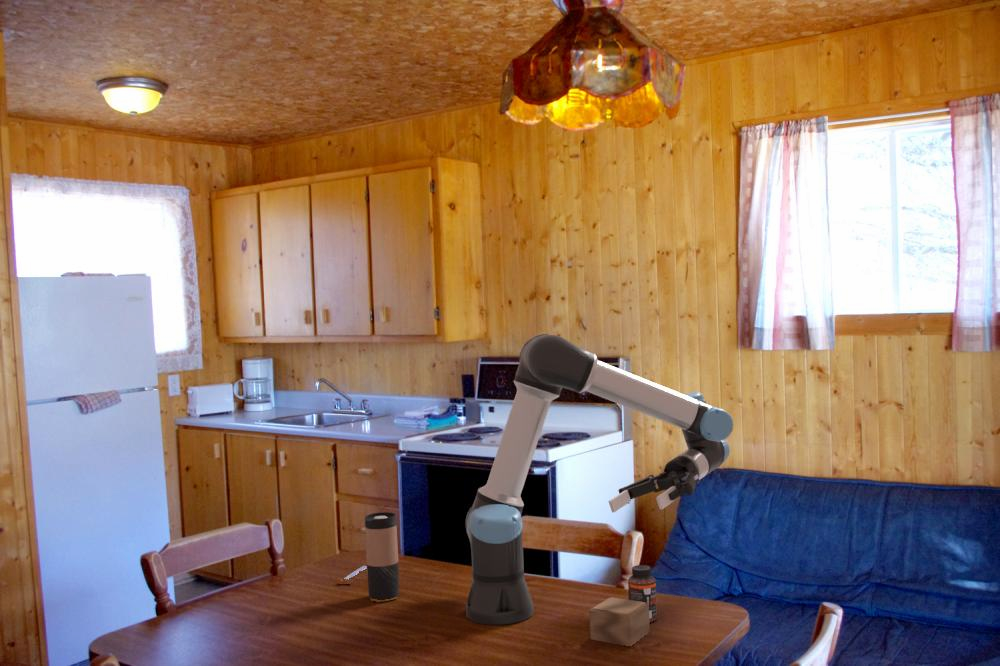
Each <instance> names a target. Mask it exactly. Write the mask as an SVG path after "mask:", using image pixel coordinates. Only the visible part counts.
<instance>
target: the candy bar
mask: <svg viewBox="0 0 1000 666" xmlns="http://www.w3.org/2000/svg"><path fill="white" fill-rule="evenodd" d="M365 569H367V566H365V565H362V566H360V567H359V568H357V569H356V570H354V571H353V572H351V573H349V574H347V576H345V577H344V579H346V580H347V579H348V580H349V578H351V577H353V576H355V575H357V574H358V573H359V571H363V570H365ZM338 580H341V581H343V580H342V579H340V578H339V579H338Z"/></svg>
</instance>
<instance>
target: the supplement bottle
mask: <svg viewBox="0 0 1000 666" xmlns="http://www.w3.org/2000/svg"><path fill="white" fill-rule="evenodd" d="M651 570H652V569H651V566H649V565H645V564H644V565H643V564H638V565H634V566H632V567H631V574H632V575H631V576H629V577H628V579H627V591H628V592H627V593H628V595H627V596H628V600H633V601H640V602H645V603H649V622H651V623H654V622H655V621H656V620H657V619H658V608H657V606H658V605H657V603H658V602H657V584H656V583H657V582H656V578H655V577H654V576H652V574H651V573H652V571H651ZM653 621H654V622H653Z"/></svg>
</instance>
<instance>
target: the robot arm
mask: <svg viewBox="0 0 1000 666" xmlns="http://www.w3.org/2000/svg"><path fill="white" fill-rule="evenodd" d="M518 361H519V363H518V366H517V369H516V372H515V376H514V379H513V383H514V385H515V387H516V394H515V397H514V399H513V403H512V405H511V409H510V412H509V414H508V418H507V421H506V424H505V426H504V430H503V433H502V435H501V439H500V442H499V446H498V449H497V452H496V454H495V457H494V460H493V463H492V466H491V470H490V472H489V476H488V480H487V482H486V484H485V485H483V486H482V487H481V486H480V487H479V488H478V489H477V491H476V495H475V498H474V501H473V503H472V506H471V507H470V508H469V510H468V512H467V514H466V518H465V530H466V534H467V536H468V539H469V543H470V552H471V554H470V555H471V556H470V557H471V571H472V574H471V575H472V581H471V585H470V589H469V593H468V596H467V600H466V605H465V611H466V612H465V613H466V615H465V616H466V618H467V619H469V621H472V622H474V623H477V624H481V625H489V626H490V625H494V626H496V625H497V626H498V625H509V624H515V623H519V622H523V621H525V620H527V619H529V618H531V617H533V615H534V612H535V610H534V601H533V599H532V596H531V594H530V590H529V587H528V585H527V582H526V579H525V570H524V569H525V568H524V567H525V566H524V546H523V545H524V544H523V526H524V525H523V524H524V523H523V520H522V513H523V509H524V506H525V504H524V501H523V500H522V497H521V494H522V491H523V489H524V486H525V482H526V479H527V476H528V473H529V470H530V467H531V465H532V461H533V457H534V455H535V451H536V448H537V445H538V442H539V439H540V436H541V433H542V431H543V426H544V425H545V421H546V418H547V415H548V412H549V409H550V405H551V403H552V402H553V401H554V400H555V399H557V398H559V397H560V396H561V392H562V389H566V390H570V391H572V392H575V393H578V394H581V393H584V392H587V393H590V394H592V395H594V396H598V397H599V398H603V399H606V400H608V401H611V402H612V403H613V402H614V404H618V405H620V406H623V407H625V408H628V409H631V410H633V411H635V412H638V413H641V414H644V415H646V416H648V417H651V418H653V419H657V420H659V421H661V422H664V423H667V424H669V425H672V426H674V427H676V428H678V429H681V432H682V435H683V438H684V441H685V443H686V446H687V449H685V450H684V451H683V452H681V453H679V454H678V455H677V456H675V457H674V458H673V459H671V460H670V461H668V462H667V463H666V464H665V466H664V469H663V472H661V473H659V474H658V475H654V474H650V475H648V476H646V477H645V478H643V479H639V480H637V481H636V482H633V483H631V484H628V485H626V486H624V487H621V488H619V489H618V493H619V494H617V495H616V496H614V497H613V498H611V499H609V500H608V504H609V507H610V510H611V513H617V511H618V510H620V509H622V508H623V507H625V506H626V505H628V504H630V502H631V501H632V500H634V499H636V498H639V497H641V496H644V495H647V494H651V493H655V494H656V493H659V492H661V491H664V492H662V493H661V494H659V495H657V496H656V497H655V499H656V502H657V506H658V507H659V510H664V509H665V508H666V507H668V506H669V505H671V504H672V503H674V502H675V501H676V500H678V499H679V497H680V498H682V497H684V496H686V494H687V496H692V495H693V494H694V492H695V489H696V485H697V484H699V483H700V481H701V479H703V478H704V477H706V476H707V475H709V474H710V473H711V472H713V471H714V470H716V469H718V468H720V467H721V466H722V465H723V464H724V463H725V462H726V461H727V460H728V459H729V457H730V447H729V443H728V442H727V441H726V439H728V438H729V437H730V435H731V434H732V432H733V429H734V419H733V418H732V416H731V414H730V413H729V412H728V411H726V410H724V409H723V408H721V407H719V406H718V407H717V406H713V405H712V404H709V403H707V401H706V400H705V397H704V394H703V393H701V392H700V391H694V392H689V393H685V394H683V393H681V392H678V391H677V390H674V389H671V388H669V387H667V386H663V385H662V384H659V383H656V382H653V381H651V380H649V379H646V378H643V377H642V376H639V375H636V374H634V373H632V372H629V371H627V370H624V369H622V368H618V367H616V366H614V365H611V364H609V363H606V362H604V361H601V360H599V359H598V357H597V355H596V353H593V352H590V351H588V350H587V349H584V348H582V347H581V346H578V345H576V344H575V343H573V342H571V341H570V340H568V339H566V338H564V337H562V336H560V335H554V334H550V333H549V334H548V333H542V334H538V335H535V336H532V337H531V338H529V339H528V340H527V341H526V342H525V343H524V344H523V346H522V347H521V350H520V352H519V360H518Z"/></svg>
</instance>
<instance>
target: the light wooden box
mask: <svg viewBox="0 0 1000 666" xmlns="http://www.w3.org/2000/svg"><path fill="white" fill-rule="evenodd" d="M588 611H589V612H588V613H589V627H590V628H589V631H590V633H589V634H590V640H592V641H593V640H594V641H599V642H603V643H609V644H612V645H613V644H614V645H618V644H619V645H620V646H624V645H625V647H629V646H631V647H632V645H633V644H634V645H635V644H637V643H638V642H639V641H641V640H642V639H643V638H644V636H645V635H646V636H647V635H648V633H649V632H651V626H650V625H651V624H650V622H649V603H645V602H640V601H633V600H629V599H626V598H620V597H619V598H618V597H613V596H610V597H608V598H606V599H605V600H603V601H601V602H600V603H598V604H597V605H595V606H594V607H592V608H590V609H589V610H588ZM649 634H650V633H649ZM646 636H645V637H646ZM641 638H642V639H641ZM640 639H641V640H640ZM637 641H638V642H637ZM636 642H637V643H636ZM619 645H618V646H619ZM634 645H633V646H634Z"/></svg>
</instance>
